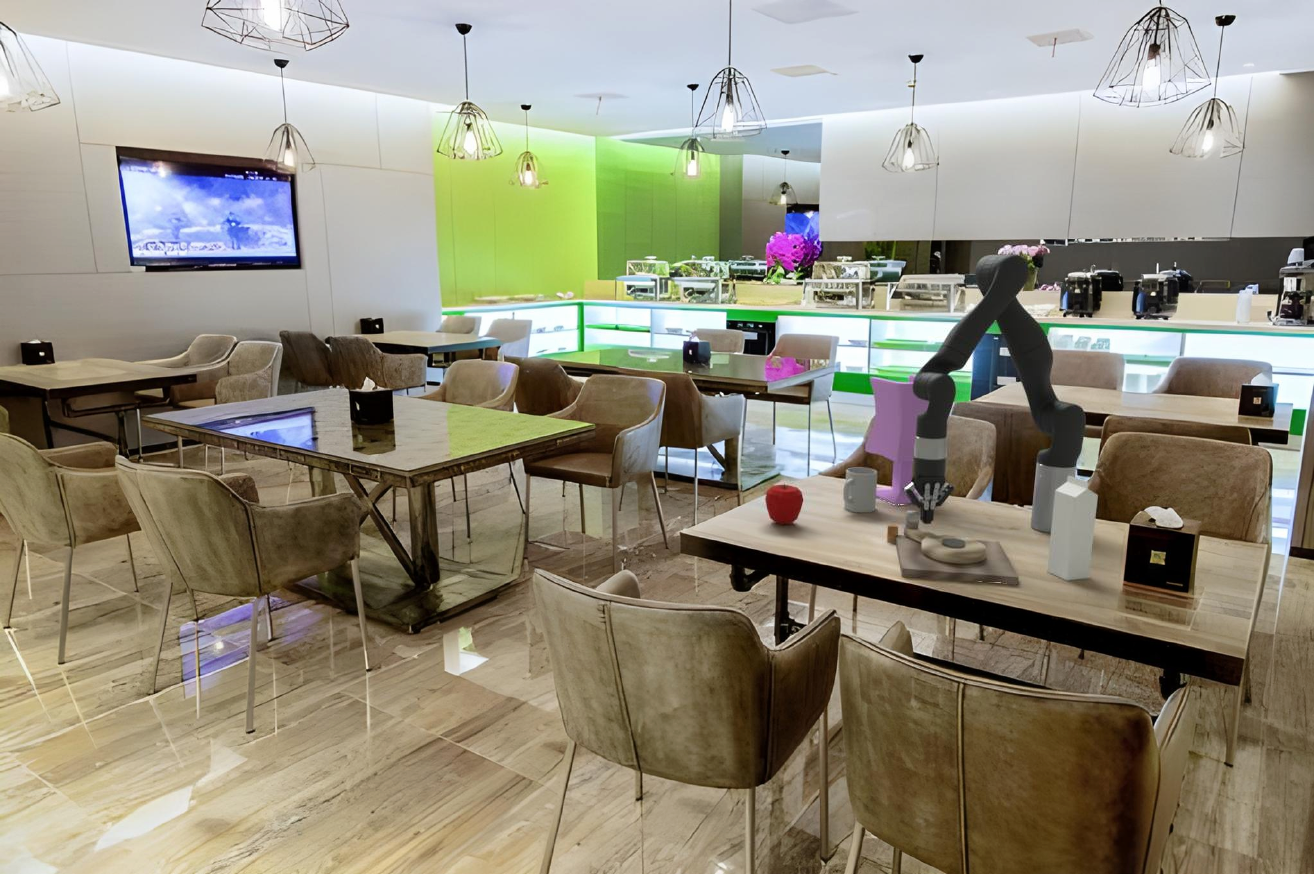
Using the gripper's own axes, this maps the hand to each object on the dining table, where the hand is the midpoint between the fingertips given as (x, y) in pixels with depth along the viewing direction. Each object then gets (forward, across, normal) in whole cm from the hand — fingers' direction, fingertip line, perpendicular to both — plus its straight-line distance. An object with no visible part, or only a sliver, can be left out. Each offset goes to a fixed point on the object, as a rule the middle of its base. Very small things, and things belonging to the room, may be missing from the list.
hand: (926, 523), depth 208 cm
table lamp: (+6, -13, -39) cm, 42 cm away
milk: (+5, -20, +26) cm, 33 cm away
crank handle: (+3, +2, +10) cm, 10 cm away
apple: (+5, +30, -21) cm, 36 cm away
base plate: (+5, +1, +13) cm, 14 cm away
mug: (+5, +5, -29) cm, 30 cm away
